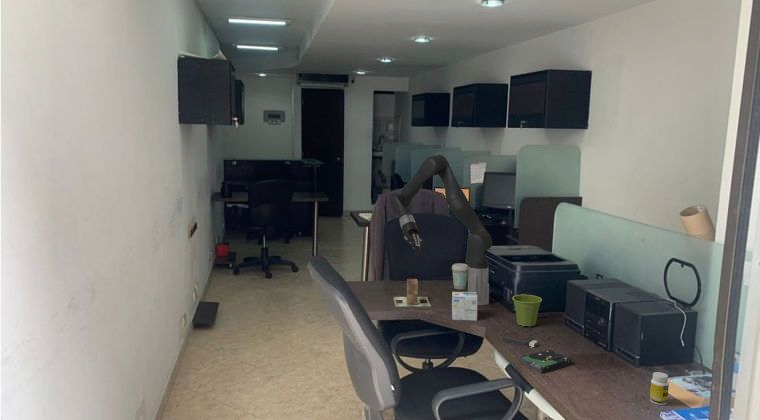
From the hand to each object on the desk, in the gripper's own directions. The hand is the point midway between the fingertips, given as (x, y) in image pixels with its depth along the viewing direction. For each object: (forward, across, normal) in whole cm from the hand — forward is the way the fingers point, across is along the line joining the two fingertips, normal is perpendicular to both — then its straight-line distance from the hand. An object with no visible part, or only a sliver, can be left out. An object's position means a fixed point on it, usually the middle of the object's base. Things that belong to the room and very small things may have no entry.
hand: (419, 254), depth 276 cm
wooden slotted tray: (+22, -5, +11) cm, 25 cm away
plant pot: (+53, +13, -29) cm, 62 cm away
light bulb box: (+41, 0, -10) cm, 43 cm away
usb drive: (+66, -4, -33) cm, 74 cm away
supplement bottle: (+106, -11, -71) cm, 128 cm away
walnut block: (+24, -7, +8) cm, 26 cm away
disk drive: (+81, -13, -43) cm, 92 cm away
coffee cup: (+9, +32, +7) cm, 34 cm away
